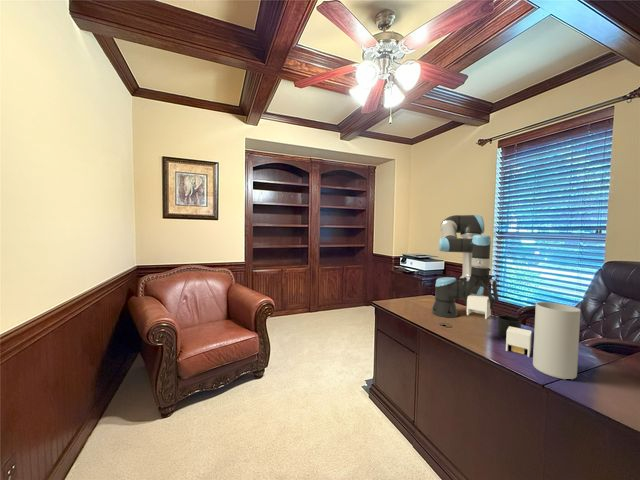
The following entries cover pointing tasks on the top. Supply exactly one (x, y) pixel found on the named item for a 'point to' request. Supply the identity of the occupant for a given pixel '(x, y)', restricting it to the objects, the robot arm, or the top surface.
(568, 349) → the cylinder vase
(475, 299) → the cover
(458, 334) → the top surface
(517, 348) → the block
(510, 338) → the cover
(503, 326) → the mug
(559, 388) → the top surface
